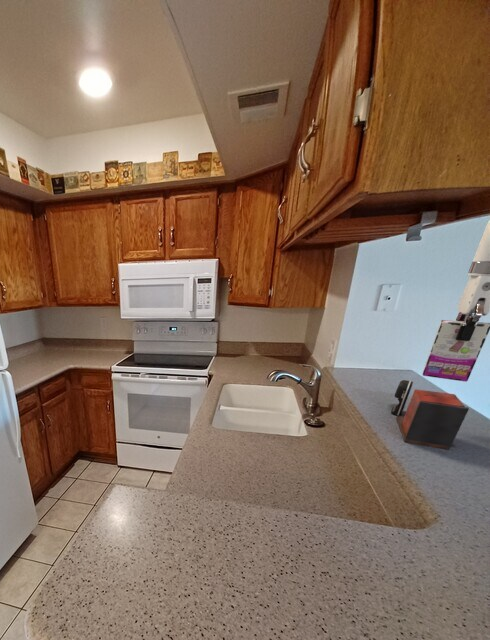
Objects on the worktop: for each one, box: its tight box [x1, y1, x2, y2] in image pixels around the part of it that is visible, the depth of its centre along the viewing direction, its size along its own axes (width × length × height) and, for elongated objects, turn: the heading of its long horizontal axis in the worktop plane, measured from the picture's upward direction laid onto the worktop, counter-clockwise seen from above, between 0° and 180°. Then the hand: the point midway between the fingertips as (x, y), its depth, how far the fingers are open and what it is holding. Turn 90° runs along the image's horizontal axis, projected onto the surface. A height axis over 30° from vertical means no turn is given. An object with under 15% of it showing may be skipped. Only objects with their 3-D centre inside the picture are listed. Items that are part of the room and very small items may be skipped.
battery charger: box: [390, 379, 414, 416], centre depth 114 cm, size 7×4×11 cm, turn 142°
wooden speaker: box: [395, 388, 470, 451], centre depth 100 cm, size 11×18×13 cm, turn 155°
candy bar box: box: [422, 319, 490, 383], centre depth 98 cm, size 11×5×16 cm, turn 55°
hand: (459, 337), depth 96 cm, fingers closed on candy bar box, 5 cm apart
